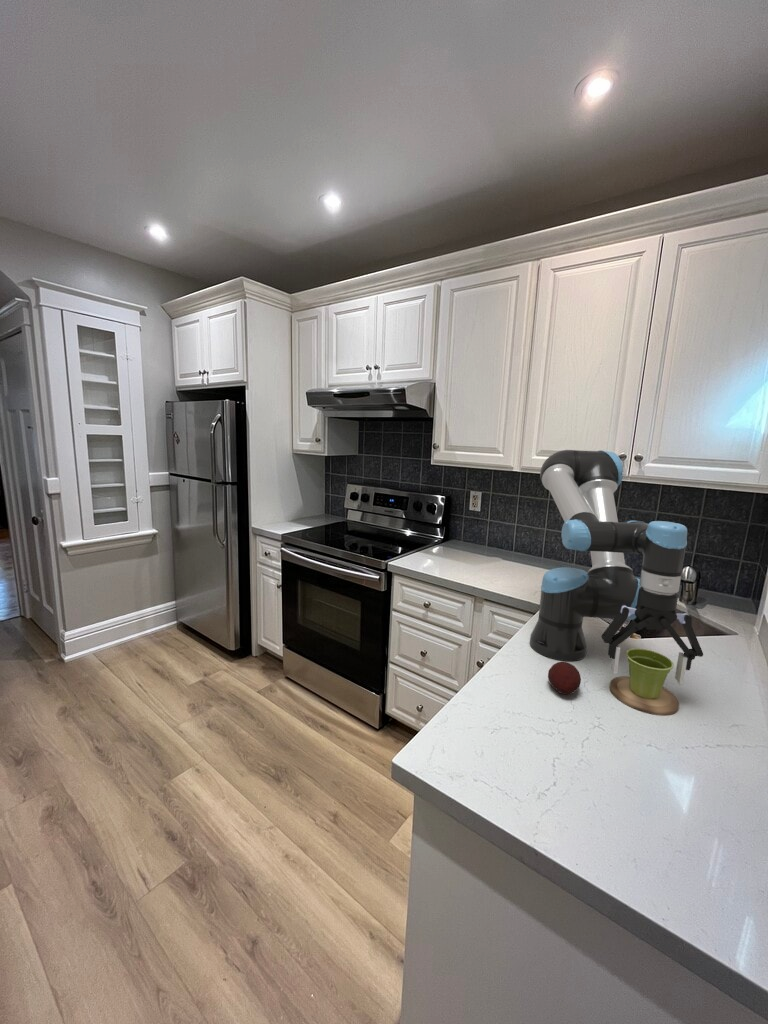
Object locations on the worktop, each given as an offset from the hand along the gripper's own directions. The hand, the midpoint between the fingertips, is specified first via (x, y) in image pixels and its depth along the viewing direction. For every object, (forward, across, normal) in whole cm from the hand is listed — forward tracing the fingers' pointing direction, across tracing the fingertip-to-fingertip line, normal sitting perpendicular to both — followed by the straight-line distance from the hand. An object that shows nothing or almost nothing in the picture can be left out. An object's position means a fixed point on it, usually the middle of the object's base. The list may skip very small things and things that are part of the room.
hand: (645, 676), depth 99 cm
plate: (+5, 0, 0) cm, 5 cm away
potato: (+6, -18, -3) cm, 19 cm away
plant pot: (+4, 0, 0) cm, 4 cm away
